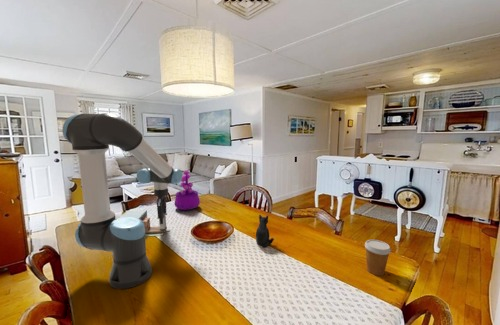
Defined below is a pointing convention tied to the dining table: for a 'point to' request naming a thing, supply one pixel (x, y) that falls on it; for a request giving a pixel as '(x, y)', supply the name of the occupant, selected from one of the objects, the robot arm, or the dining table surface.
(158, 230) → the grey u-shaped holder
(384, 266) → the disposable coffee cup
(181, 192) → the decorative plant
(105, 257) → the dining table surface
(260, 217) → the figurine
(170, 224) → the dining table surface
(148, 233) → the mat
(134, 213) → the tunnel
